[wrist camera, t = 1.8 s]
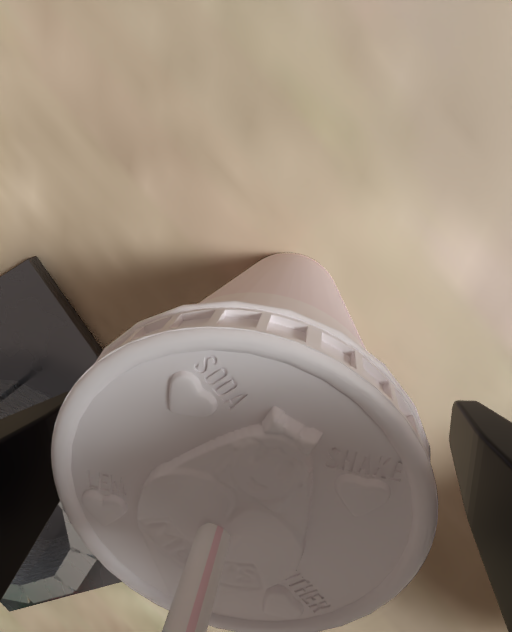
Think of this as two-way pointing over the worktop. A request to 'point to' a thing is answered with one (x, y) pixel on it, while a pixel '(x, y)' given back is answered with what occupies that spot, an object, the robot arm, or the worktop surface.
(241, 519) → the smoothie
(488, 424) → the robot arm
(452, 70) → the worktop surface
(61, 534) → the duct collar
